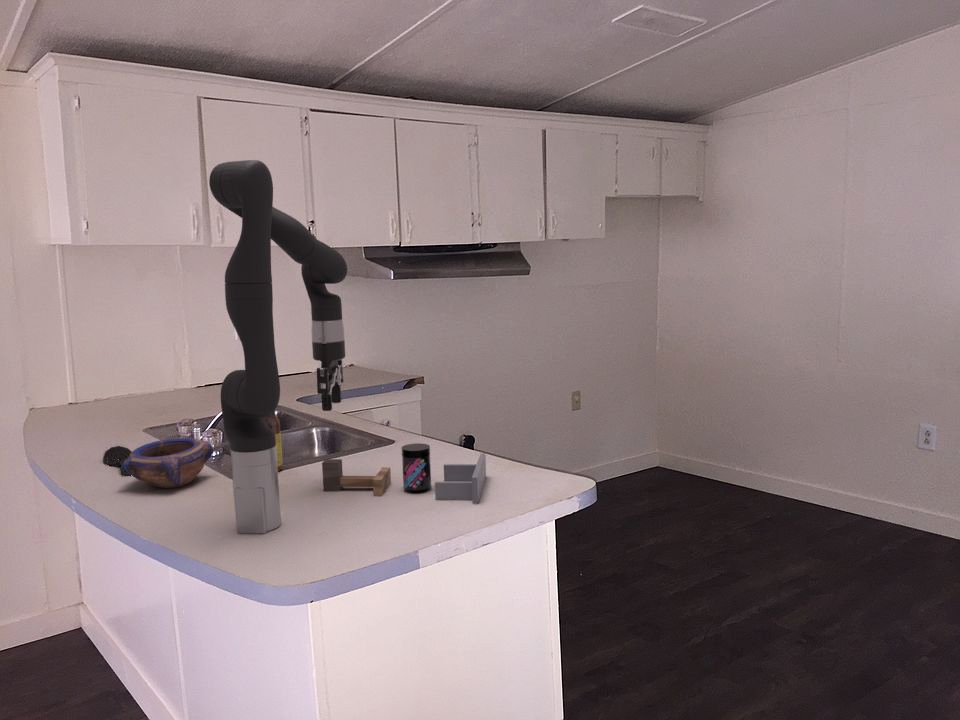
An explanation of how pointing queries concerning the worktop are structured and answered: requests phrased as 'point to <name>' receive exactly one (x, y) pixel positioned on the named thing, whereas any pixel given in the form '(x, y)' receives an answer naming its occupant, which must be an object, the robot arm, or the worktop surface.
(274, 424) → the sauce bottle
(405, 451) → the supplement container
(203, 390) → the worktop surface
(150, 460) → the bowl
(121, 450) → the hairbrush
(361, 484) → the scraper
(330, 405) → the robot arm
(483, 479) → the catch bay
